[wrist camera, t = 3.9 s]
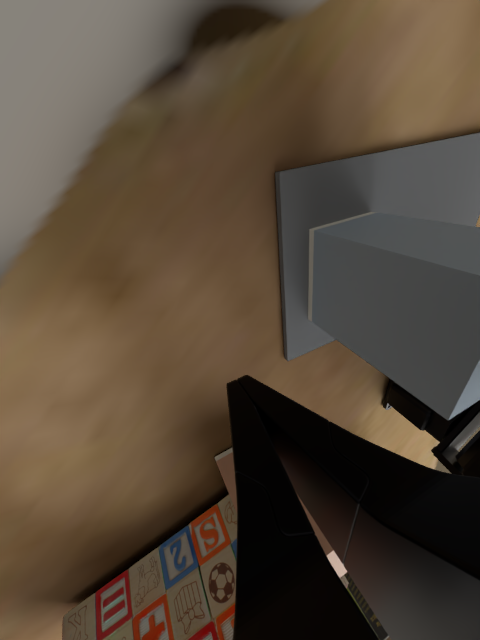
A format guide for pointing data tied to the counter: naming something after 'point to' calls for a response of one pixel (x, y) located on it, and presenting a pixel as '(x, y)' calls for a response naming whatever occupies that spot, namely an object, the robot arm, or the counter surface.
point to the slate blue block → (403, 301)
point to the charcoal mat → (366, 209)
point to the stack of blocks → (170, 588)
